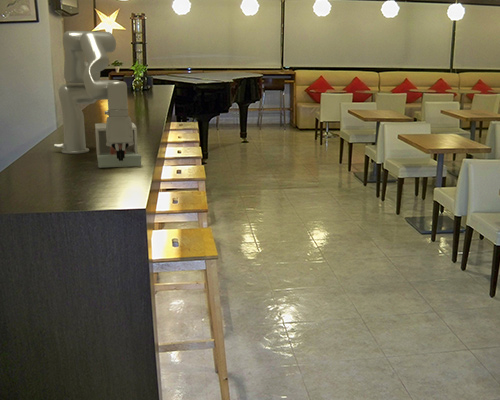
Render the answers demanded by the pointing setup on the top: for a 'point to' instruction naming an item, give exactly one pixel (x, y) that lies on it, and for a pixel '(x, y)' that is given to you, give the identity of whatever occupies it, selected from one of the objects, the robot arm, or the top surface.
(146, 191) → the top surface
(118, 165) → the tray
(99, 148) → the cabinet
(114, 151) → the lighter
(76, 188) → the top surface
